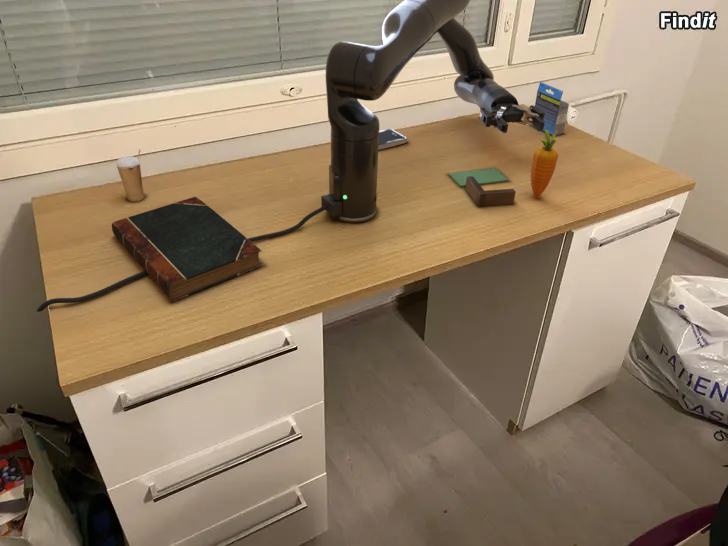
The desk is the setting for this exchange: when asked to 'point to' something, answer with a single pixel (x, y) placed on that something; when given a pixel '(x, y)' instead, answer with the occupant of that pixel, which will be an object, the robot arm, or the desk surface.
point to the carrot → (543, 165)
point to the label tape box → (552, 108)
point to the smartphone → (390, 138)
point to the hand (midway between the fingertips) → (524, 128)
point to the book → (186, 247)
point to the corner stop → (488, 194)
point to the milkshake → (131, 177)
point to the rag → (479, 176)
